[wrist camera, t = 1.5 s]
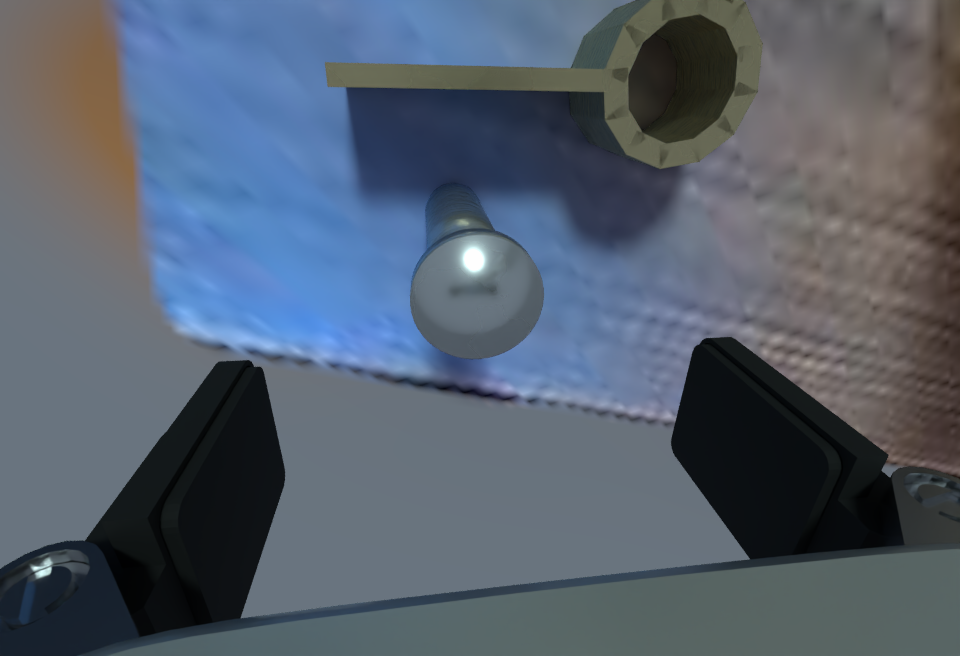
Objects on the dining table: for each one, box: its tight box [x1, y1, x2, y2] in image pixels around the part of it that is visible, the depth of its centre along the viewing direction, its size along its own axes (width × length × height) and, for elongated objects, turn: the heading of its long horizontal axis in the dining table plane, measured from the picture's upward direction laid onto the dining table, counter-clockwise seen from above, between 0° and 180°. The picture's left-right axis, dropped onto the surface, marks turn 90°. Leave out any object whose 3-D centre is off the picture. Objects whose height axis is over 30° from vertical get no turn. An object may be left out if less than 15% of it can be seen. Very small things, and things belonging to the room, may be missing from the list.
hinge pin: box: [410, 183, 544, 359], centre depth 20 cm, size 4×4×12 cm
